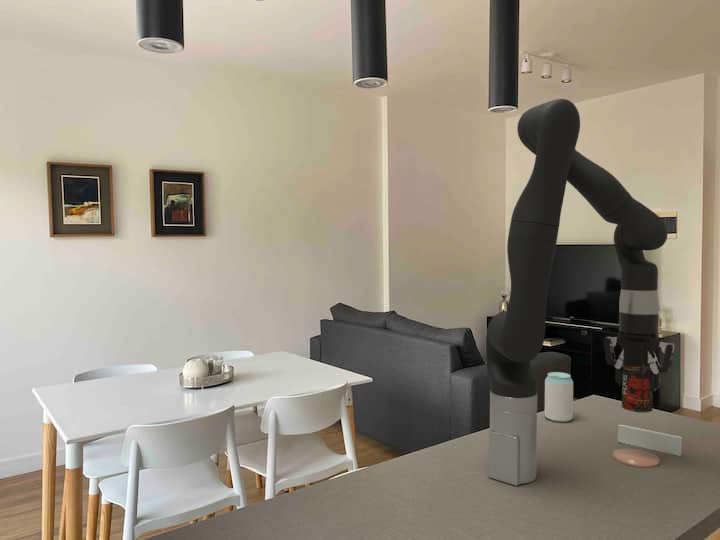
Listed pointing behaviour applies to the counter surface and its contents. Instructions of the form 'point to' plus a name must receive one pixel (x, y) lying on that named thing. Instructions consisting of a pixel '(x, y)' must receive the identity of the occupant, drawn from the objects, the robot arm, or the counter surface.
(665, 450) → the acrylic wall
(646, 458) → the coaster
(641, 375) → the deodorant
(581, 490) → the counter surface
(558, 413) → the can
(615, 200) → the robot arm
